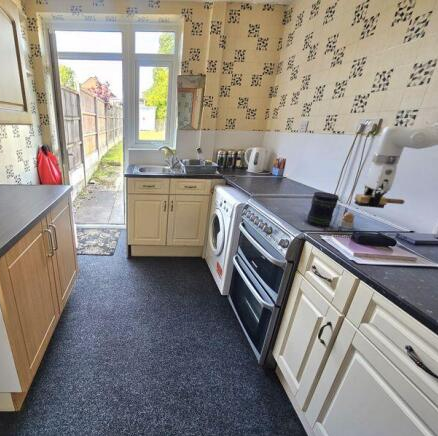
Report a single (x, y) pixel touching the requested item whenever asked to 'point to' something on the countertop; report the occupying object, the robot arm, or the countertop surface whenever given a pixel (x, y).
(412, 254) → the countertop surface
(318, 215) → the storage jar
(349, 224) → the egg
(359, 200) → the brush
